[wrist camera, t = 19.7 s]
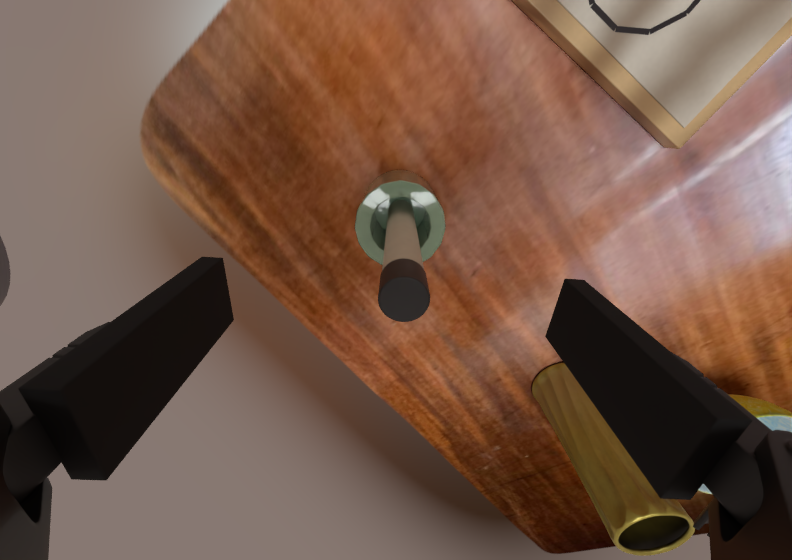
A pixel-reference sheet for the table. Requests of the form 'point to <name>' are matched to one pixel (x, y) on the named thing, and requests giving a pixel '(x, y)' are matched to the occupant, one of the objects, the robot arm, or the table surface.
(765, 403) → the bowl
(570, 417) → the vase
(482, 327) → the table surface
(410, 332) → the table surface
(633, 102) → the sketch board
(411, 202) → the pencil pot
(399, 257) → the pen
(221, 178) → the table surface
